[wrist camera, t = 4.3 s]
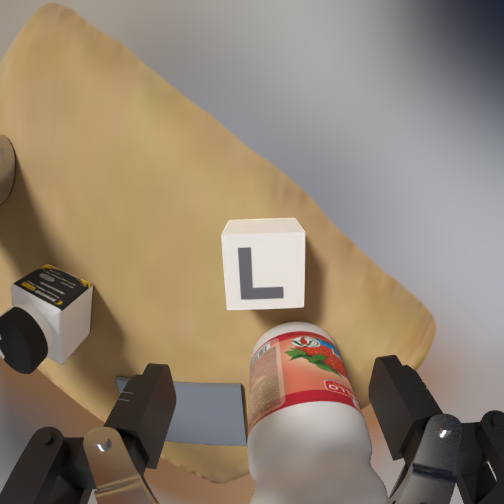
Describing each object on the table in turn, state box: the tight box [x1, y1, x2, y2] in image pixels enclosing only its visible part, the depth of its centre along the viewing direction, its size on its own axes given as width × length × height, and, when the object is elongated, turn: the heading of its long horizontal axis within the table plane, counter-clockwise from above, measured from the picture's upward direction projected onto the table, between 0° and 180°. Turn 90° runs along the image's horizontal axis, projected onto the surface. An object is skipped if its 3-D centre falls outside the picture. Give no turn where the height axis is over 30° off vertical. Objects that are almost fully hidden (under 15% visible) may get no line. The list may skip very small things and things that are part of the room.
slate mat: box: [115, 376, 247, 446], centre depth 34 cm, size 16×12×1 cm
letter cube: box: [221, 218, 305, 310], centre depth 25 cm, size 6×6×6 cm
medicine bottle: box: [0, 264, 93, 374], centre depth 24 cm, size 7×7×12 cm
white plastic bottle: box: [247, 322, 388, 504], centre depth 17 cm, size 9×9×28 cm
